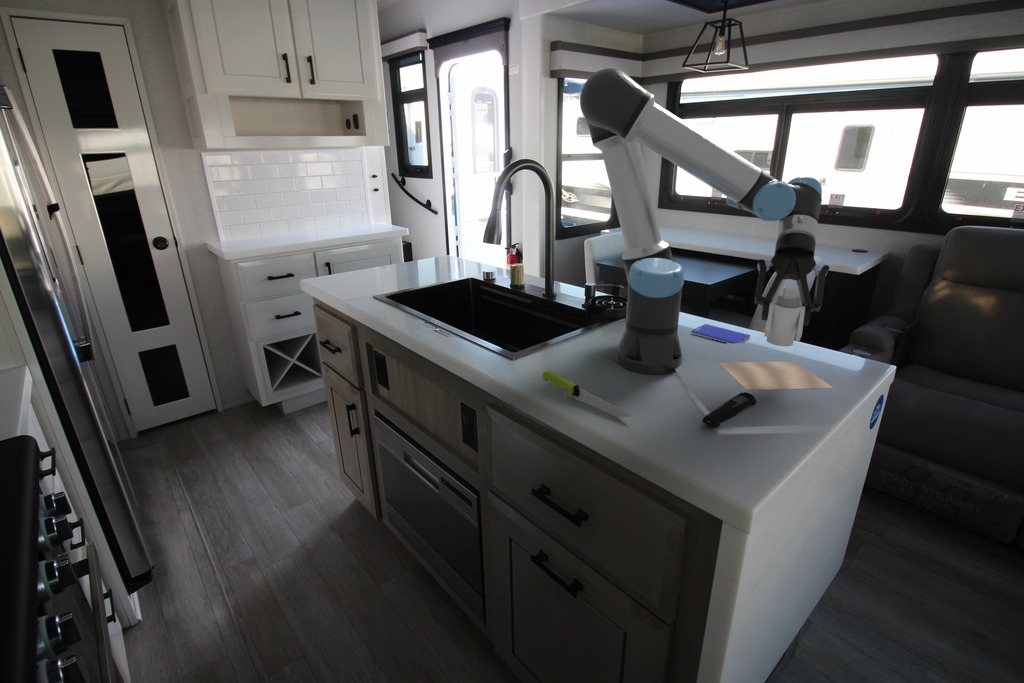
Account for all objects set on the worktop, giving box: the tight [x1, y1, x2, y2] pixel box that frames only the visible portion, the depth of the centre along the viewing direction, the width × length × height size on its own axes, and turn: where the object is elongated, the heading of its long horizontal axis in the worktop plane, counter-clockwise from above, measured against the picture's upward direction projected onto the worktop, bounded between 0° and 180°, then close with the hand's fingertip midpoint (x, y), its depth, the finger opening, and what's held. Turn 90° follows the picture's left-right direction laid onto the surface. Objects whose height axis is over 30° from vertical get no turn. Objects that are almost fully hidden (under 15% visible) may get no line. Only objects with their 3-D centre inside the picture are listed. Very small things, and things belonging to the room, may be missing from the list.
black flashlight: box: [701, 391, 758, 428], centre depth 95 cm, size 4×16×3 cm, turn 128°
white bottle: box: [766, 287, 802, 347], centre depth 105 cm, size 5×5×12 cm
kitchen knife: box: [542, 370, 633, 418], centre depth 101 cm, size 22×1×3 cm, turn 43°
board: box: [718, 360, 834, 391], centre depth 111 cm, size 18×14×1 cm
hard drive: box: [690, 323, 751, 345], centre depth 136 cm, size 2×8×12 cm
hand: (782, 335), depth 103 cm, fingers closed on white bottle, 5 cm apart
